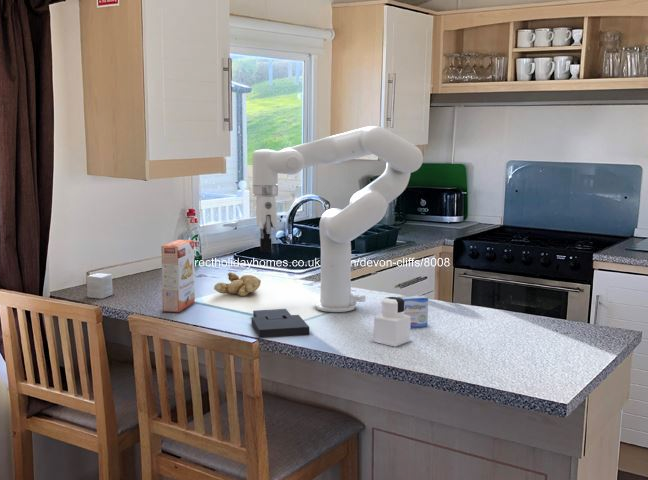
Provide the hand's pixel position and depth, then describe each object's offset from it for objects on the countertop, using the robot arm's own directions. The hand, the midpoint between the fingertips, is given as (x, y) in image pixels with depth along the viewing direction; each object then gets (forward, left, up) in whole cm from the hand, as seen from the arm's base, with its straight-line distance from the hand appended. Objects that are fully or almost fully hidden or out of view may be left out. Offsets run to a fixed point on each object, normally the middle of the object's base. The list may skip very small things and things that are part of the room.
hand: (265, 250), depth 234 cm
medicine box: (-38, +27, -19) cm, 50 cm away
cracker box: (+26, -11, -19) cm, 34 cm away
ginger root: (+4, -27, -19) cm, 33 cm away
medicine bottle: (-27, +41, -19) cm, 53 cm away
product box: (+51, -33, -19) cm, 64 cm away
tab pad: (0, +13, -19) cm, 23 cm away
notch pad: (0, +22, -19) cm, 29 cm away
